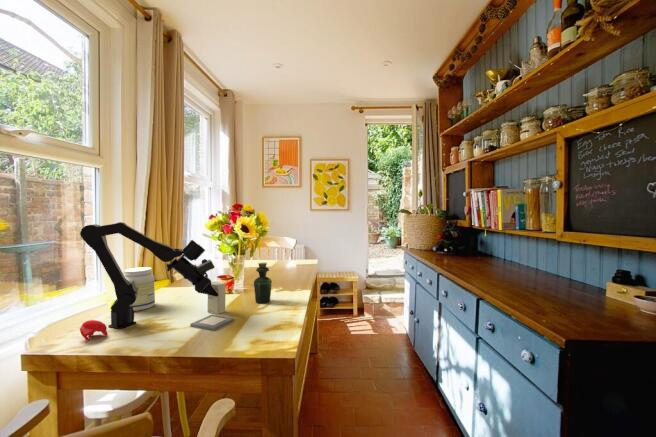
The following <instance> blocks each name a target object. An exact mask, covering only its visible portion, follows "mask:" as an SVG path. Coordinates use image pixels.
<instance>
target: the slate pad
mask: <svg viewBox="0 0 656 437" xmlns="http://www.w3.org/2000/svg"><path fill="white" fill-rule="evenodd" d="M234 321H235V317H230V316H225V315H220V314H214V313H211V314H210V315H208V316H205V317H203V318H201V319H198V320H196V321H194V322H192V323H189V324H190V325H189V326H190V328H191V327H192V328H196V329H202V330H206V331H207V330H208V331H213V332H215V331H216V330H219V329H220V328H222V327H225V326H226V325H228V324H230V323H232V322H234Z"/></svg>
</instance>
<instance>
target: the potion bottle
mask: <svg viewBox="0 0 656 437" xmlns="http://www.w3.org/2000/svg"><path fill="white" fill-rule="evenodd" d="M267 264H268V263H267V262H258V267H257V268H256V269H255V271H256V272H257V273H258V277H257V278H255V279H254V281H253V288H254V289H253V290H254V297H255V303H257V304H258V305H265V304H268V303H270V302H271V293H272V283H273V281H272V279H271V278H270V277H269V276H267V273H268V272H269V271H270V269H269V267H267Z"/></svg>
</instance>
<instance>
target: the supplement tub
mask: <svg viewBox="0 0 656 437" xmlns="http://www.w3.org/2000/svg"><path fill="white" fill-rule="evenodd" d="M152 272H153V269H152V267H149V266H145V267H143V266H141V267H131V268H128V269H124V272H123V274H124V276H125V278H126V279H127V280H128V281H129V282H131V281H134V283H135V286H136V287H137V288H138V296H137V298H136V300H135V302H134V303H133V304H132V305H130V306H132V307H133V310H134V312H138V311H144V310H147V309H150V308H152V307H154V306H155V305H156V294H155V292H156V291H155V288H156V287H155V275H154V274H153V273H152Z"/></svg>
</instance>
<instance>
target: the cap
mask: <svg viewBox="0 0 656 437" xmlns="http://www.w3.org/2000/svg"><path fill="white" fill-rule="evenodd" d="M107 329H108V328H107V325H106V324H105V323H104V322H103V321H100V320H98V319H97V320H95V319H90V320H89V319H88V320H86V321H84V322H83V323H82V324H81V326H80V327H79V331H80V335H81V336H82V338H83V339H84V340H85V341H86V342H90V338H89V337H92V336H94V335H95V334H94V333H95V332H99V333H102V335H103V336H106V337H107V336H108V334H109V333H108V332H107Z"/></svg>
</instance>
